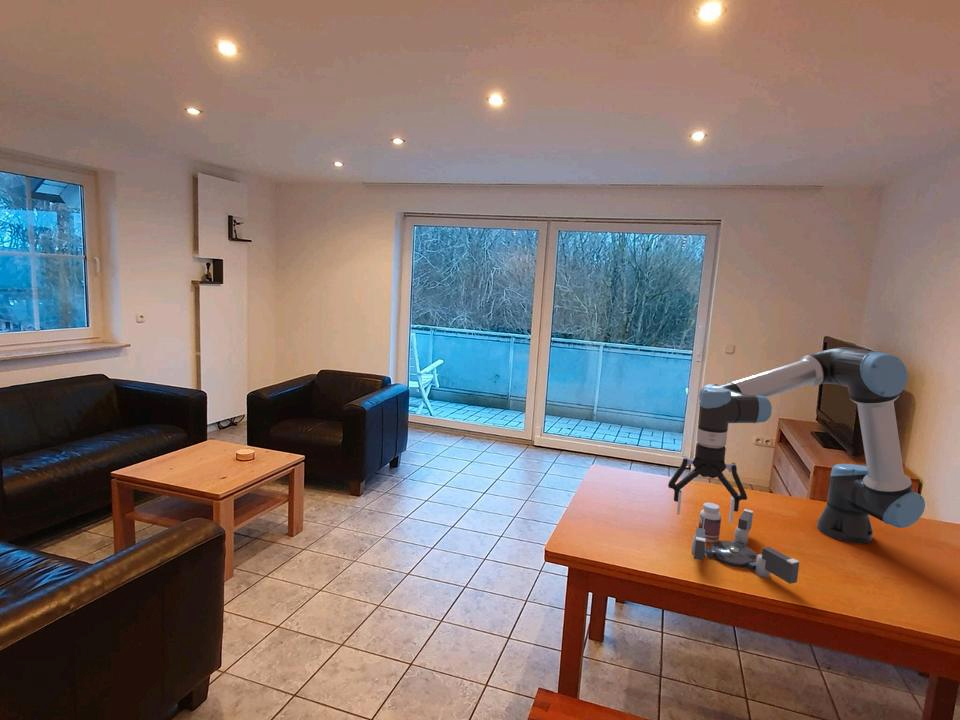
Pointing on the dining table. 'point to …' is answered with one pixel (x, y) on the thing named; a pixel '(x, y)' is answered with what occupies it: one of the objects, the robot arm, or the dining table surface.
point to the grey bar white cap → (777, 565)
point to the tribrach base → (733, 554)
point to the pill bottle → (710, 521)
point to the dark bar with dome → (699, 544)
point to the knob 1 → (743, 527)
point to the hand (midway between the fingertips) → (704, 516)
